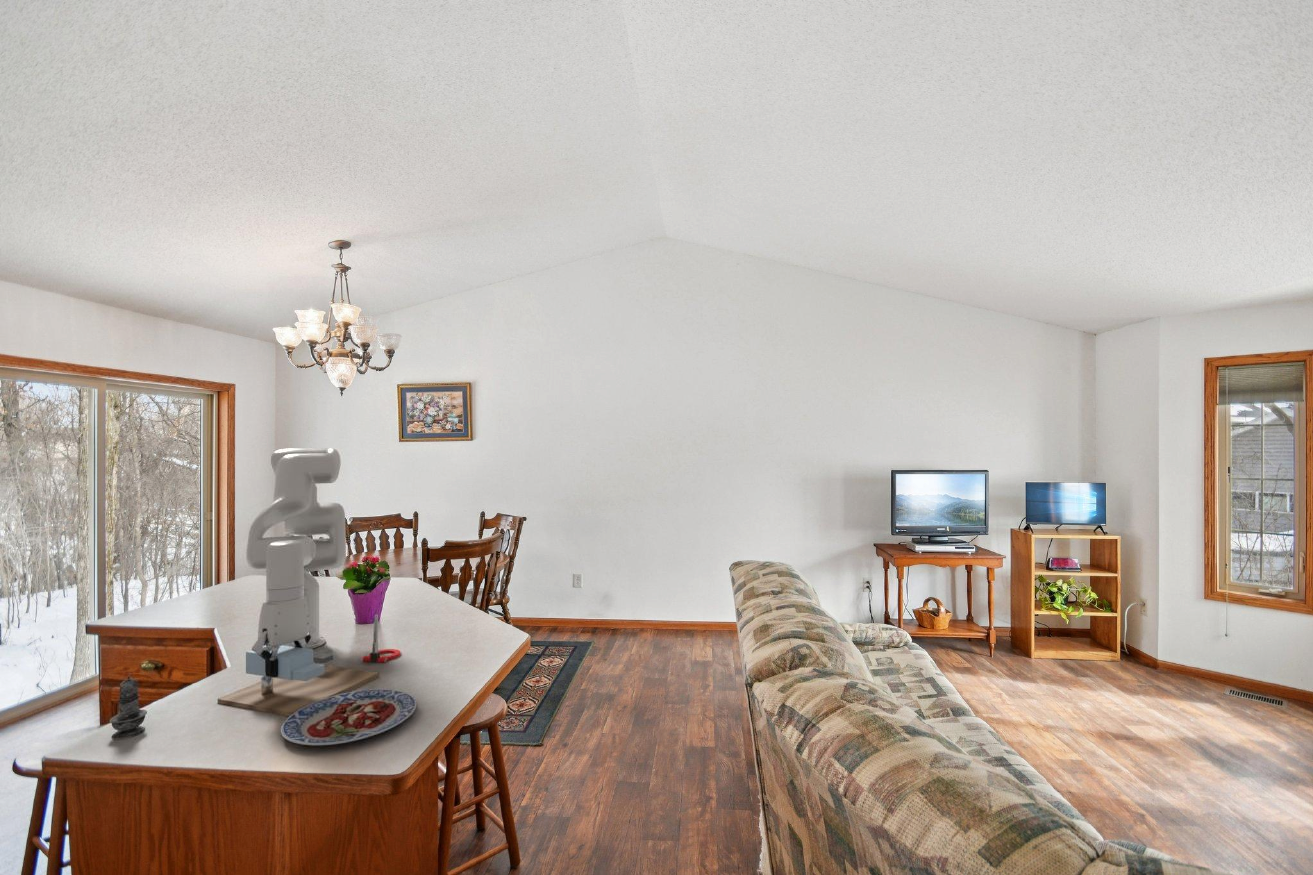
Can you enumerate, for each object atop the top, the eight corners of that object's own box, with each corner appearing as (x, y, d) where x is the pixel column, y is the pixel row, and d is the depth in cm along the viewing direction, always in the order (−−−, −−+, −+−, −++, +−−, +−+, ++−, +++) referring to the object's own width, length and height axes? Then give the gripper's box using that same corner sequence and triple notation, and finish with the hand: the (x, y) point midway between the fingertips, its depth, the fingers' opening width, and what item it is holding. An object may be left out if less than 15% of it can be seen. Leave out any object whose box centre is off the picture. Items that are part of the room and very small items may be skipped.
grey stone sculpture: (124, 727, 126) (125, 670, 126) (154, 725, 126) (154, 669, 126) (101, 740, 120) (101, 681, 120) (132, 739, 120) (132, 680, 121)
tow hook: (379, 652, 172) (359, 662, 163) (381, 607, 173) (360, 614, 164) (406, 653, 171) (387, 663, 162) (407, 608, 171) (388, 615, 162)
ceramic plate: (328, 697, 140) (328, 685, 140) (435, 698, 139) (435, 685, 139) (249, 754, 114) (249, 739, 114) (380, 755, 114) (380, 740, 114)
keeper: (294, 670, 154) (294, 654, 154) (304, 666, 157) (304, 650, 157) (323, 675, 151) (323, 658, 151) (333, 670, 154) (333, 654, 154)
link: (326, 672, 138) (326, 651, 138) (303, 682, 133) (303, 659, 133) (270, 664, 144) (270, 643, 144) (245, 673, 138) (245, 651, 139)
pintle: (258, 694, 140) (258, 674, 140) (268, 690, 142) (268, 670, 142) (266, 695, 139) (266, 675, 139) (275, 691, 141) (275, 672, 141)
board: (217, 703, 137) (217, 698, 137) (308, 666, 160) (308, 662, 160) (294, 717, 129) (294, 712, 129) (378, 676, 152) (378, 672, 152)
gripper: (305, 584, 148) (305, 657, 148) (237, 601, 132) (237, 683, 132) (328, 586, 146) (328, 660, 145) (261, 604, 129) (261, 687, 129)
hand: (285, 670), depth 138 cm, fingers closed on link, 6 cm apart
